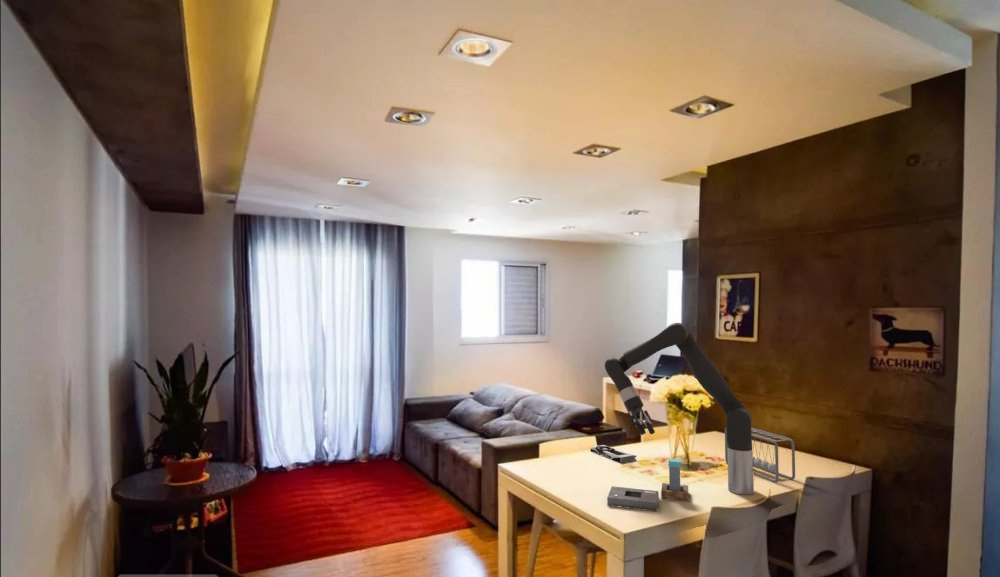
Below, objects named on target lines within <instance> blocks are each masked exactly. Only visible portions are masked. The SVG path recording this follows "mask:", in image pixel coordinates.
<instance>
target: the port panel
mask: <svg viewBox="0 0 1000 577" xmlns="http://www.w3.org/2000/svg"><path fill="white" fill-rule="evenodd" d="M659 496H660V495H659V490H649V489H642V488H634V487H633V488H632V487H624V486H623V487H621V486H613V485H611V487H610V490H609V493H608V494H607V498H606V501H607V502H606V503H607V506H608V505H613V506H612V507H617V506H621V507H620V508H625V507H629V508H628V509H634V508H636V509H635V510H642V509H645V510H644V511H653V512H657V511H658V507H659V506H658V505H659Z"/></svg>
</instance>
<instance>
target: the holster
mask: <svg viewBox="0 0 1000 577" xmlns="http://www.w3.org/2000/svg"><path fill="white" fill-rule="evenodd" d="M660 491H661V492H660V494H661V495H660V496H661V497H660V498H661V499H662V500H668V501H679V502H687V503H688V502H689V485H688V484H687V485H686V484H680V491H673V490H670V488H669V483H668V482H662V483H661V490H660Z"/></svg>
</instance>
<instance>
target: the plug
mask: <svg viewBox="0 0 1000 577" xmlns="http://www.w3.org/2000/svg"><path fill="white" fill-rule="evenodd" d="M681 466H682V465H681V458H668V467H669V468H668V472H669V473H668V474H669V478H668V479H669V480H668V481H669V488H670V490H673V491H680V485H681Z"/></svg>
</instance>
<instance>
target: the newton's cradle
mask: <svg viewBox="0 0 1000 577" xmlns="http://www.w3.org/2000/svg"><path fill="white" fill-rule="evenodd" d="M756 433H758V434H756ZM760 434H761V435H760ZM751 435H752V438H753V439H754V440H753V441H755V440H756V439H759V440H760V444H759V445H760V447H759V449H762V450H764V448H763V446H762V445H763V442H762V441H765V442H767V445H766V446H767V449H766V450H768V451H769V453H771V452H770V451H771V450H770V448H769V447H770V445H769V444H770V443H772V444H774V450H773V453H774V456H773V458H772V456H771V454H769V457H770V458H772V460H771V461H770V462H769V461H768V460H767V459H766V458H767V456H768V453H766V455H764V452H762V454H763V456H765V458H763V459H764V460H762V459H761V458H760V456H761V455H760V454H761V452H757V451H758V450H757V449H755V451H756V453H758V454H759V456H758V455H756V457H754V456H753V455H754V452H752V461H753V468H756V469H759V468H760V469H759V470H763V471H765V472H768V473H770V472H771V474H772V475H773V474H774V475H775V479H774V478H770V477H769V476H766V475H763V474H760V473H757V472H754V471H753V474H754V476H757V477H758V476H759V478H761V477H762V478H761V479H764V478H765V479H764V480H766V479H767V480H766V481H769V482H771V483H772V482H773V483H778V481H779V482H780V481H783V480H791V481H793V480H795V478H796V455H795V454H796V449H795V448H796V446H795V444H796V443H795V441H794V440H793V439H792V438H790V437H787V436H783V435H780V434H776V433H772V432H769V431H765V430H761V429H759V428H758V429H757V428H755V427H751ZM763 435H765V436H763ZM766 436H768V437H766ZM770 437H772V438H773V439H772V438H770ZM777 439H779V440H777ZM782 441H783V442H784V441H789V442H790V443H791V470H792V471H791V472H792V474H791V476H788V475H787V474H783V473H781V472H779V444H778V443H777V442H782ZM756 445H757V443H754V444H752V449H754V446H755V447H757V446H756ZM724 452H725V454H724V457H725V459H724V460H725V463H726V465H728V447H727V432H726V428H725V429H724ZM774 459H775V460H774ZM773 461H774V462H775V463H774V462H773ZM780 477H781V478H782V479H779V478H780ZM784 477H785V478H784Z"/></svg>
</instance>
